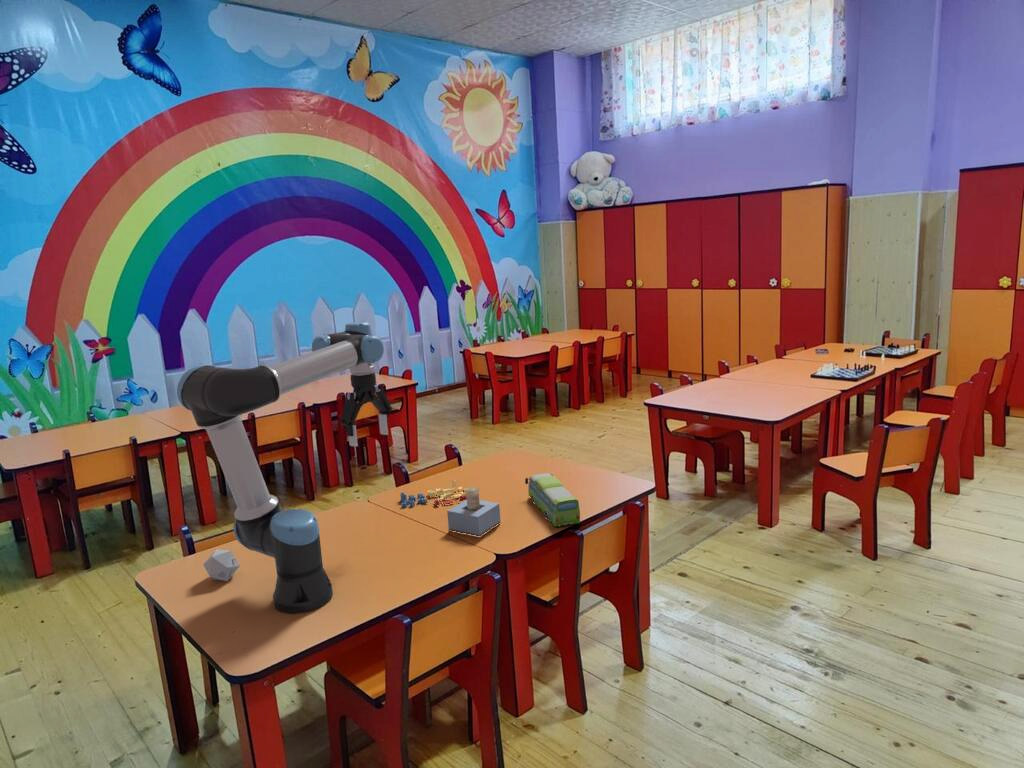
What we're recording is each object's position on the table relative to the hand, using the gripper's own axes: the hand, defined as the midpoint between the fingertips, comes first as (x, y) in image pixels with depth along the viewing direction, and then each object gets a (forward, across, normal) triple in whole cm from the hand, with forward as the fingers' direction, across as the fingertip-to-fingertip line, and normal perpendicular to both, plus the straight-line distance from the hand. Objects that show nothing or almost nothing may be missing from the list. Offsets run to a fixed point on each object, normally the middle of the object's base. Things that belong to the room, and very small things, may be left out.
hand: (369, 440), depth 217 cm
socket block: (+32, +18, -25) cm, 44 cm away
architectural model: (+32, +40, -4) cm, 51 cm away
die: (+32, -42, +21) cm, 57 cm away
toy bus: (+32, +41, -41) cm, 67 cm away
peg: (+31, +18, -25) cm, 44 cm away
